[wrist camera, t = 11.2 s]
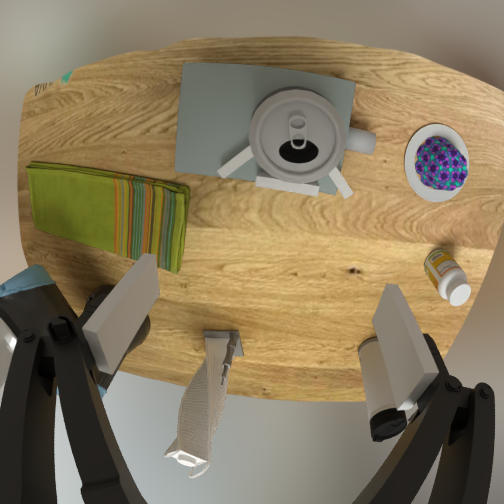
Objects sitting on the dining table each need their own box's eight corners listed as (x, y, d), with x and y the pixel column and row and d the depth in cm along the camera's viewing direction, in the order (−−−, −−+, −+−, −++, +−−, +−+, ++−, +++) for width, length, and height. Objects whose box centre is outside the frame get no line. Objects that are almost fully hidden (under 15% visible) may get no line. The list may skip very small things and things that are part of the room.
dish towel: (183, 270, 49) (177, 280, 46) (39, 227, 50) (30, 233, 47) (193, 185, 42) (186, 191, 39) (34, 159, 42) (23, 163, 39)
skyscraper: (244, 359, 57) (218, 483, 32) (207, 358, 58) (170, 474, 34) (238, 330, 53) (203, 467, 29) (198, 329, 55) (149, 456, 30)
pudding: (403, 202, 38) (416, 214, 34) (400, 122, 33) (414, 124, 28) (465, 199, 36) (481, 210, 31) (466, 125, 31) (484, 129, 26)
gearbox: (190, 163, 40) (167, 176, 32) (198, 68, 33) (175, 60, 25) (356, 188, 38) (371, 208, 31) (374, 93, 31) (395, 90, 24)
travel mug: (351, 354, 53) (362, 440, 36) (370, 333, 50) (389, 422, 32) (374, 361, 54) (388, 443, 36) (393, 341, 50) (416, 425, 33)
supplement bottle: (441, 278, 43) (463, 312, 34) (418, 273, 43) (439, 307, 34) (453, 252, 40) (480, 283, 32) (431, 245, 40) (456, 277, 32)
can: (263, 162, 32) (248, 190, 21) (259, 98, 28) (241, 89, 18) (329, 162, 30) (350, 190, 20) (328, 97, 27) (349, 88, 16)
